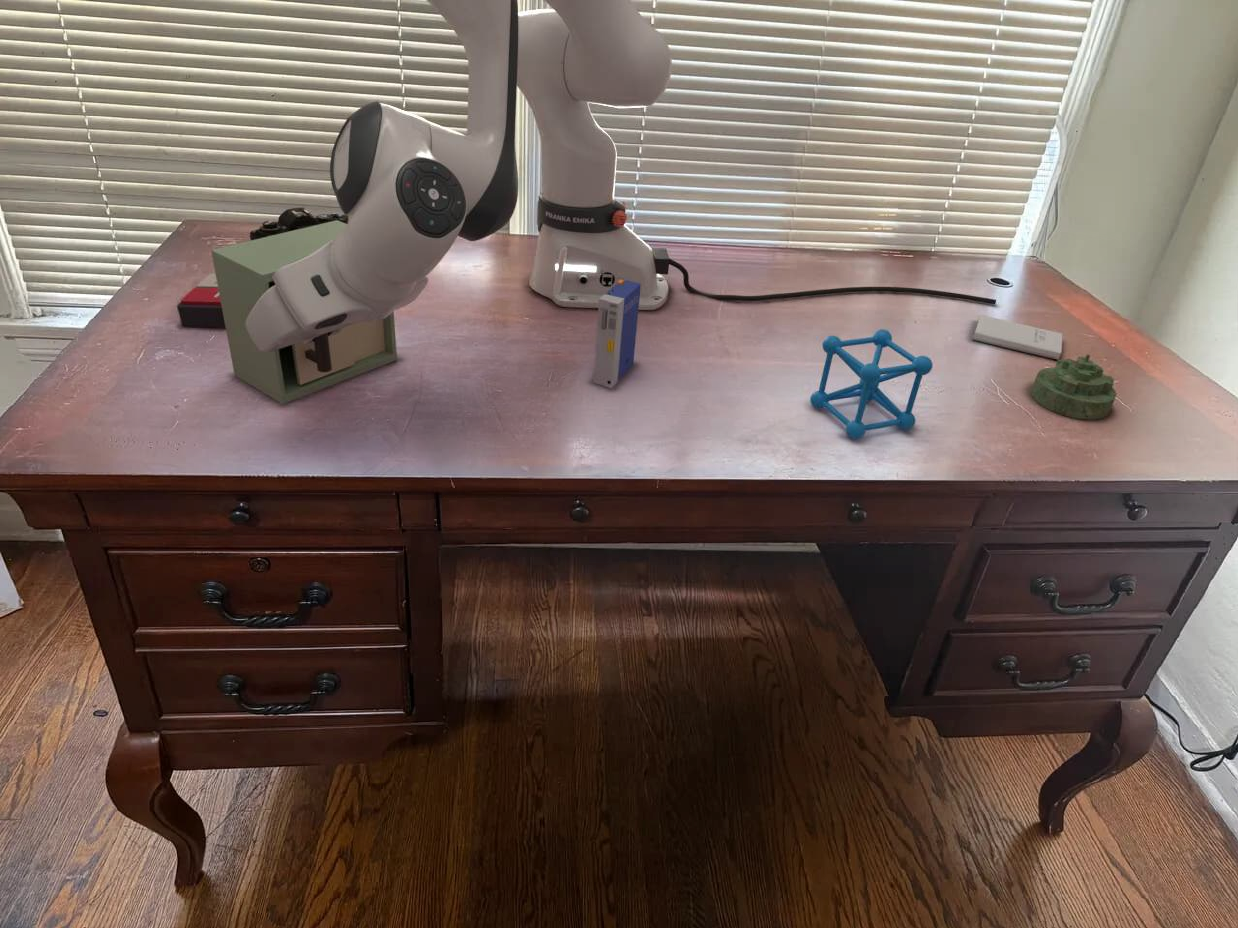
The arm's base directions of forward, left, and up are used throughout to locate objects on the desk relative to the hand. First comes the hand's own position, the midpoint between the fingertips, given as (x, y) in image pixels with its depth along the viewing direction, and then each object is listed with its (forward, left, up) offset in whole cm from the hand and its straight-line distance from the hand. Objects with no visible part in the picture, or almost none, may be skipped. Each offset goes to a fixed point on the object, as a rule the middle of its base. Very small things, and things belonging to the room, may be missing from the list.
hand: (317, 333), depth 99 cm
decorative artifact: (-95, -23, -9) cm, 98 cm away
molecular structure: (-65, -11, -9) cm, 67 cm away
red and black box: (+19, -20, -9) cm, 29 cm away
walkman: (-33, -15, -9) cm, 38 cm away
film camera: (+19, -38, -9) cm, 43 cm away
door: (-1, -2, -7) cm, 8 cm away
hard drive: (-93, -42, -9) cm, 103 cm away
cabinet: (+4, -7, -8) cm, 12 cm away
